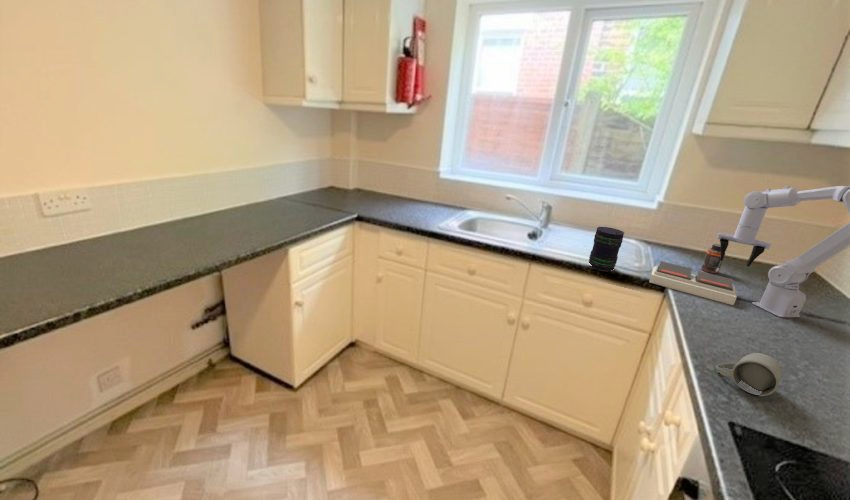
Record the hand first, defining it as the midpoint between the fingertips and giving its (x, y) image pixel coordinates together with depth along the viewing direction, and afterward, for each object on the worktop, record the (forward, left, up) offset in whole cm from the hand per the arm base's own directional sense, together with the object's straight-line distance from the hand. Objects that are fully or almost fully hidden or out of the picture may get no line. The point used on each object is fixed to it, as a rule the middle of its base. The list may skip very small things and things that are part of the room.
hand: (734, 262), depth 136 cm
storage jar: (+20, +37, -11) cm, 43 cm away
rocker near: (-3, +10, -6) cm, 12 cm away
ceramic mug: (-48, +47, -11) cm, 68 cm away
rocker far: (+5, +18, -6) cm, 20 cm away
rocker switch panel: (+1, +14, -10) cm, 17 cm away
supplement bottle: (+17, -11, -11) cm, 23 cm away
